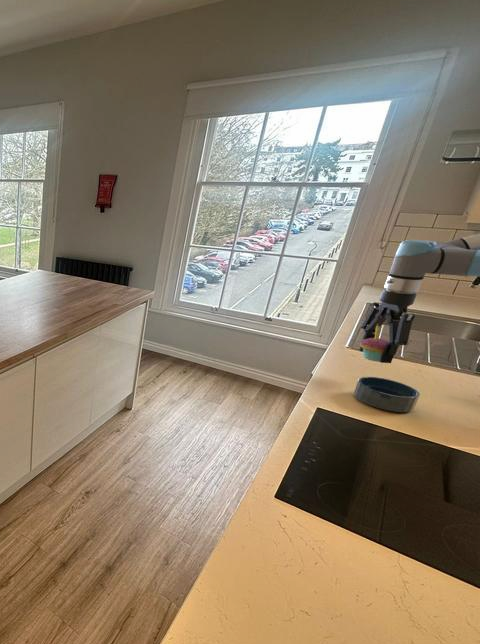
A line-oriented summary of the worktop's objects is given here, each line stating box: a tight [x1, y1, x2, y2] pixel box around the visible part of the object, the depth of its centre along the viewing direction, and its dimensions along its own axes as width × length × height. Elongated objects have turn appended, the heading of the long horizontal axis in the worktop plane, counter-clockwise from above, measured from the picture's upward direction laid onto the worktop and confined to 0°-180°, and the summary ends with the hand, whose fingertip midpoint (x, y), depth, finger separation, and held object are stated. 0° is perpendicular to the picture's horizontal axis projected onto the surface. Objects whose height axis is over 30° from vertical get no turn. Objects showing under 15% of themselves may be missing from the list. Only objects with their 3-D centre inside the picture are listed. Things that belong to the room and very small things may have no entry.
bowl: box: [353, 376, 421, 413], centre depth 122 cm, size 13×13×6 cm
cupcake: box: [359, 324, 389, 363], centre depth 131 cm, size 9×8×12 cm
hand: (374, 356), depth 132 cm, fingers closed on cupcake, 8 cm apart
